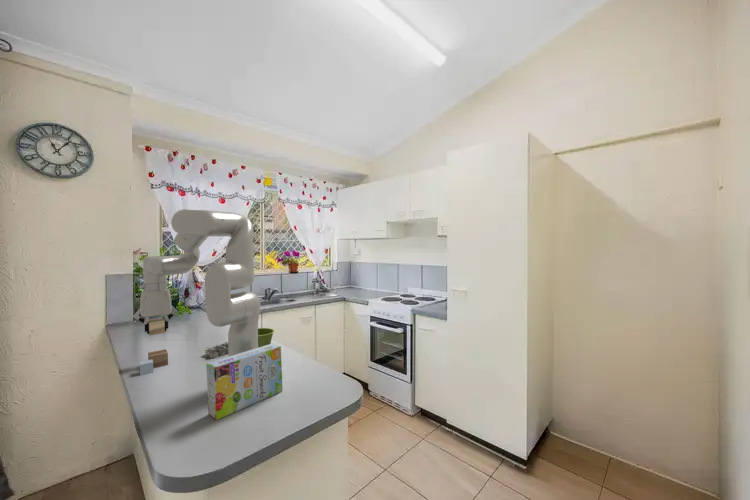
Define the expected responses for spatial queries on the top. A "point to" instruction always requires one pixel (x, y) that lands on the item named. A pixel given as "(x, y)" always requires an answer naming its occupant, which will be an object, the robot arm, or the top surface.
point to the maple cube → (156, 326)
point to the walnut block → (159, 358)
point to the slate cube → (146, 367)
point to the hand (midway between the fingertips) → (156, 331)
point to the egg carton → (217, 350)
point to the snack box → (243, 379)
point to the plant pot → (264, 336)
